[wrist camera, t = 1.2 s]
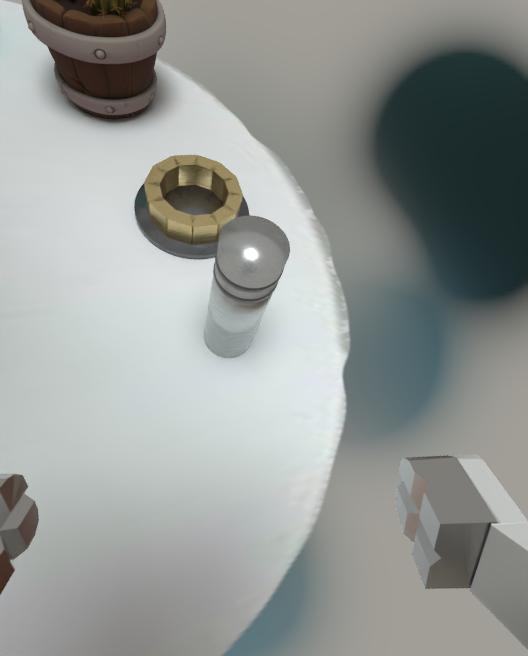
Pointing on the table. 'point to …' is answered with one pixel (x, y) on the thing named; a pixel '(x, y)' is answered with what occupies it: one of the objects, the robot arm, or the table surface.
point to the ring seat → (188, 205)
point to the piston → (243, 282)
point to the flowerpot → (102, 50)
